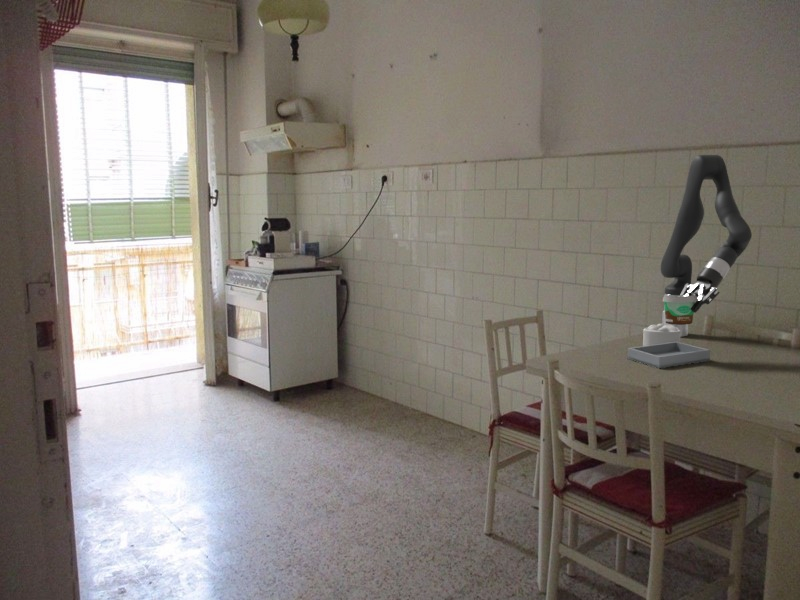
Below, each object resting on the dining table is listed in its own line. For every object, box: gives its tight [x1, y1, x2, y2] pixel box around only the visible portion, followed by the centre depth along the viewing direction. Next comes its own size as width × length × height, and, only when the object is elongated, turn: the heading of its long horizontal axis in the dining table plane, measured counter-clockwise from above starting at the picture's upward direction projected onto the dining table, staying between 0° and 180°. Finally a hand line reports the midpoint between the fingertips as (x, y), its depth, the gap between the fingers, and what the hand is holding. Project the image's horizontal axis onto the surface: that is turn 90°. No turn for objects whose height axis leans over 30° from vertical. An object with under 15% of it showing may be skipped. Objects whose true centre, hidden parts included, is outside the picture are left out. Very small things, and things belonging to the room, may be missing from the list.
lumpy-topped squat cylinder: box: [642, 323, 682, 346], centre depth 256 cm, size 10×13×9 cm
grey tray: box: [627, 341, 711, 369], centre depth 237 cm, size 16×22×4 cm
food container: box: [662, 293, 698, 325], centre depth 234 cm, size 12×6×10 cm, turn 103°
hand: (686, 309), depth 235 cm, fingers closed on food container, 5 cm apart
